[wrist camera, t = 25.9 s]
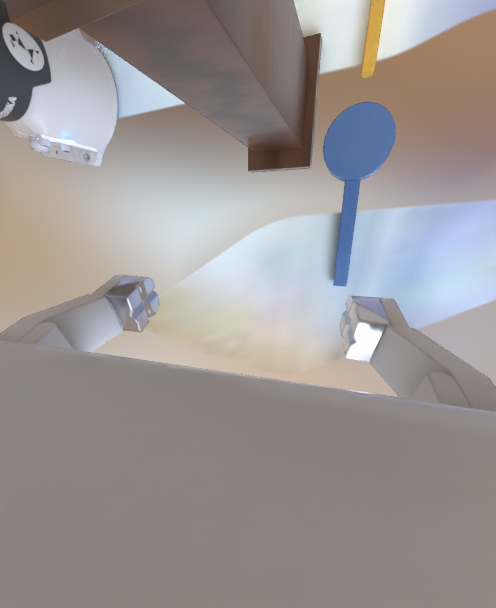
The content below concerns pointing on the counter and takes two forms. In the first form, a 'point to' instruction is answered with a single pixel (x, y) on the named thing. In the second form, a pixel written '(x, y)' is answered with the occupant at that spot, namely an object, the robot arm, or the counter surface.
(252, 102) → the spoon stand
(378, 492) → the robot arm
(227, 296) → the counter surface
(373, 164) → the spoon
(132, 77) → the counter surface
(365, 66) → the fry
